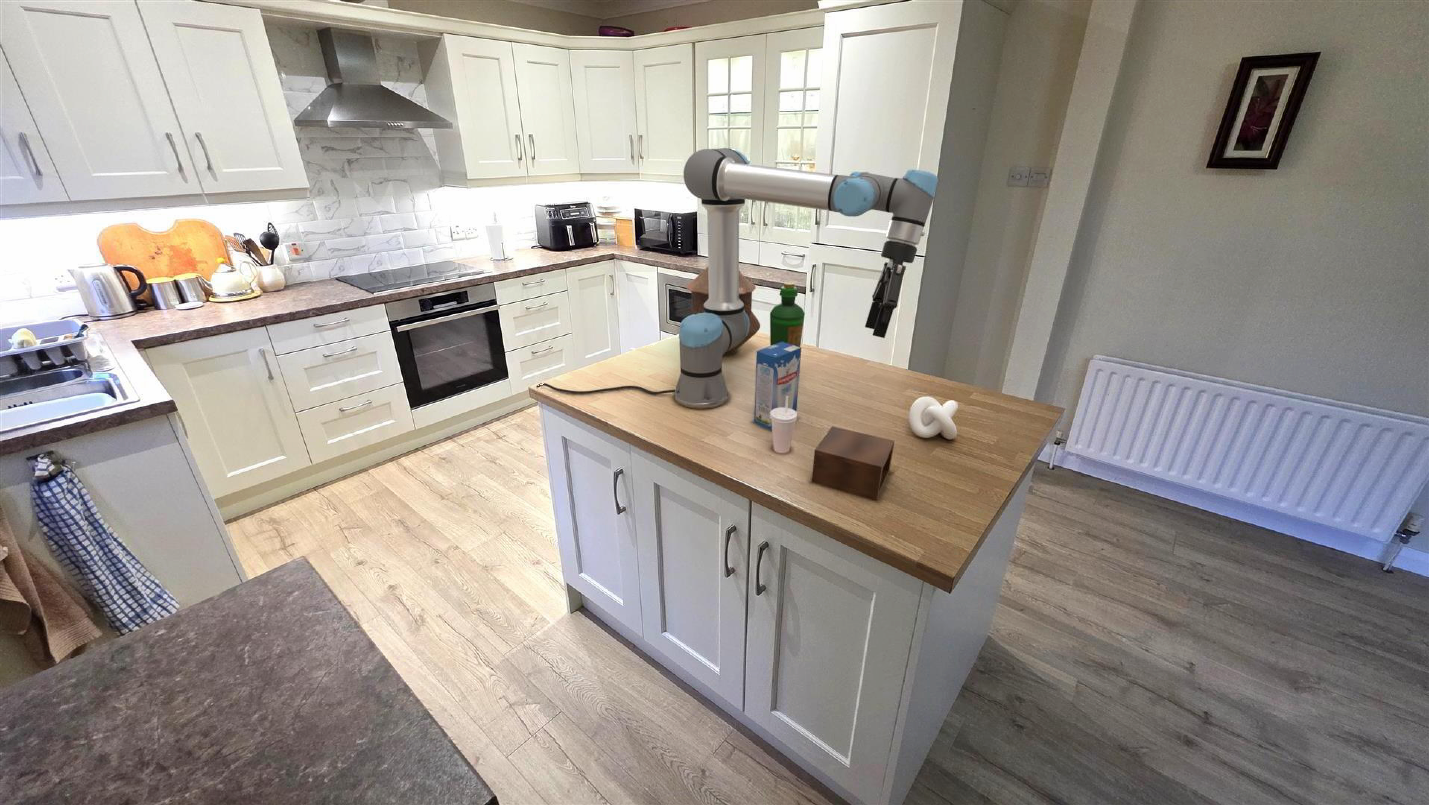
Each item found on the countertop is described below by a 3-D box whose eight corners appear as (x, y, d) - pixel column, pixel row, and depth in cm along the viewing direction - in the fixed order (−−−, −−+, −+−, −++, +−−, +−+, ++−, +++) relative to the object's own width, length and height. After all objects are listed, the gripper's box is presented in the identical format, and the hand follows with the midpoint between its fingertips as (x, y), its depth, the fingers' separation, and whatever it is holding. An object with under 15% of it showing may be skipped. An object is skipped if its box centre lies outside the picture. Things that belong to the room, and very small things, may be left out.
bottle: (802, 376, 171) (809, 287, 159) (768, 376, 172) (772, 287, 159) (798, 363, 181) (804, 279, 169) (766, 363, 181) (770, 279, 169)
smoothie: (793, 457, 128) (798, 403, 122) (766, 454, 129) (769, 401, 123) (795, 444, 134) (799, 391, 127) (769, 441, 135) (772, 389, 129)
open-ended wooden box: (811, 482, 119) (814, 449, 115) (828, 456, 128) (831, 425, 125) (876, 500, 113) (881, 466, 109) (889, 472, 122) (894, 440, 119)
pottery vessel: (725, 369, 176) (726, 276, 163) (670, 350, 192) (667, 264, 179) (773, 348, 194) (777, 263, 181) (719, 333, 209) (719, 253, 196)
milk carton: (778, 410, 150) (782, 341, 141) (796, 418, 146) (801, 347, 137) (753, 422, 143) (756, 350, 135) (771, 431, 139) (776, 357, 131)
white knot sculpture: (921, 417, 146) (927, 387, 142) (966, 433, 139) (974, 401, 135) (901, 432, 139) (906, 400, 135) (948, 449, 131) (955, 416, 127)
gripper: (930, 246, 114) (899, 344, 121) (906, 246, 138) (881, 328, 144) (895, 238, 115) (865, 336, 121) (877, 240, 139) (853, 321, 145)
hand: (874, 332), depth 133 cm, fingers open, 13 cm apart
